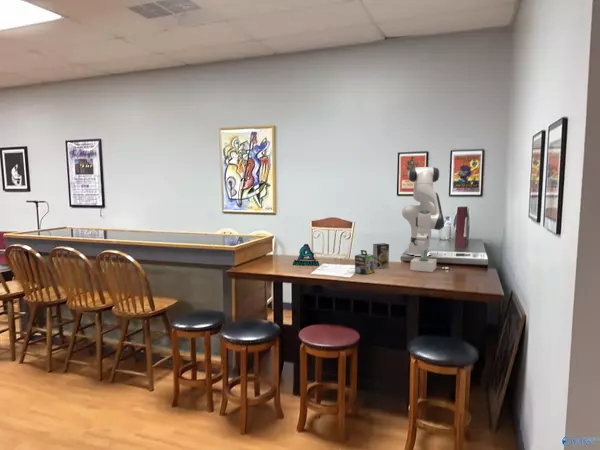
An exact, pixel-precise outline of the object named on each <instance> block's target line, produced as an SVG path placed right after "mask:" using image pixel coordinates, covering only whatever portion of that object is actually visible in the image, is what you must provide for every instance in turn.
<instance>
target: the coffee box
mask: <svg viewBox="0 0 600 450" xmlns="http://www.w3.org/2000/svg"><path fill="white" fill-rule="evenodd" d="M372 255H374V269H377V270H378V269H386V268H387V269H389V267H390V266H389V265H390V262H389V261H390V244H389V243H385V242H384V243H372Z"/></svg>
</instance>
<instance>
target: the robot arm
mask: <svg viewBox="0 0 600 450" xmlns="http://www.w3.org/2000/svg"><path fill="white" fill-rule="evenodd" d="M440 176H441V174H440V169H439V168H437V167H430V166H421V167H420V166H418V167H414V166H413V167H410V168H409V169H408V172H407V179H408V180H409V181H410V182H413V191H412V192H413V193H412V197H413V199H414V201H416V202H419V203H420V204H419V205H418V204H416V205H413V204H412V205H411V204H410V205H407V206H404V207H403V208H402V211H401V214H402V217H403V218H404V219H405V220H406V221H407V222H408V224H409V225H410V229H411V230H410V232H411V235H410V236H411V237H410V243H408V247H407V249H408V251H407V253H413V254H421V257H420V258H423V257H424V251H425V250H426V251H427V253H428V251H429V252H430V249H429V247H430V245H431V243H430V239H432V230H437V231H440V230H442V229H443V228H444V227H445V218H444V214H443V211H442V210H443V209H442V205H441V201H440V197H439V193H437V192H436V191H435V190H434V183H436V182H437V181H439V180H440V179H439V178H440Z"/></svg>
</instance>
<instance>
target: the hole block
mask: <svg viewBox="0 0 600 450" xmlns="http://www.w3.org/2000/svg"><path fill="white" fill-rule="evenodd" d="M436 268H437V258H430V257H429V258H428V257H427V261H421V257H415V256H414V258H413V259H411V260H410V268H409V269H410V271H418V272H426V273H427V272H429V273H430V272H431V273H433V272H434V271H435V270H436Z"/></svg>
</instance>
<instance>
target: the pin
mask: <svg viewBox="0 0 600 450" xmlns="http://www.w3.org/2000/svg"><path fill="white" fill-rule="evenodd" d="M420 258H421V257H420ZM427 258H428V256H427V251H426V250H425V251H424V257H423V258H421V261H427Z"/></svg>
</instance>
